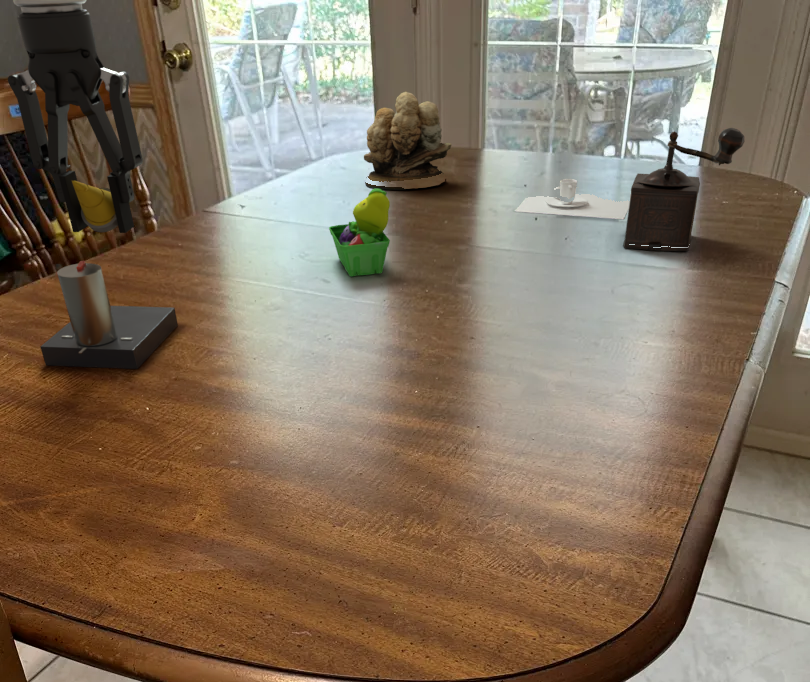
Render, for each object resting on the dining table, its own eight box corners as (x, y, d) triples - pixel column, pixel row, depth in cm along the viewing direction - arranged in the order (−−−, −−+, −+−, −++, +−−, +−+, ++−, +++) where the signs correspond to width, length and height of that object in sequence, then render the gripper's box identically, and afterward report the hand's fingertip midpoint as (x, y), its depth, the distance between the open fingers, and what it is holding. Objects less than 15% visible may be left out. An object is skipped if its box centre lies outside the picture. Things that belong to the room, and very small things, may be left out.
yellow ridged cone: (142, 228, 105) (100, 186, 95) (107, 250, 105) (62, 210, 96) (125, 195, 106) (82, 150, 96) (90, 218, 106) (44, 175, 97)
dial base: (39, 371, 101) (33, 350, 100) (94, 322, 114) (89, 303, 112) (132, 374, 100) (127, 354, 98) (178, 325, 112) (174, 306, 111)
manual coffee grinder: (621, 249, 134) (637, 127, 123) (627, 230, 142) (643, 114, 132) (721, 257, 130) (747, 131, 119) (722, 236, 138) (746, 117, 128)
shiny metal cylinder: (114, 344, 101) (96, 273, 96) (72, 347, 101) (52, 275, 95) (120, 329, 105) (103, 259, 100) (80, 331, 105) (61, 261, 99)
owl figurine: (449, 175, 177) (450, 85, 166) (452, 189, 167) (453, 94, 157) (365, 177, 177) (361, 87, 167) (363, 191, 167) (358, 97, 157)
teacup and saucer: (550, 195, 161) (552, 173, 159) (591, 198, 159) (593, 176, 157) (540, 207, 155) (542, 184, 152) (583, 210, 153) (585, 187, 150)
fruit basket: (329, 258, 134) (324, 184, 127) (383, 252, 136) (380, 179, 129) (343, 280, 125) (338, 202, 118) (400, 274, 127) (398, 197, 120)
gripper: (-47, 12, 87) (19, 237, 101) (118, 9, 85) (163, 239, 99) (-9, 7, 93) (49, 219, 107) (146, 4, 91) (184, 221, 105)
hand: (103, 229), depth 103 cm, fingers closed on yellow ridged cone, 5 cm apart
